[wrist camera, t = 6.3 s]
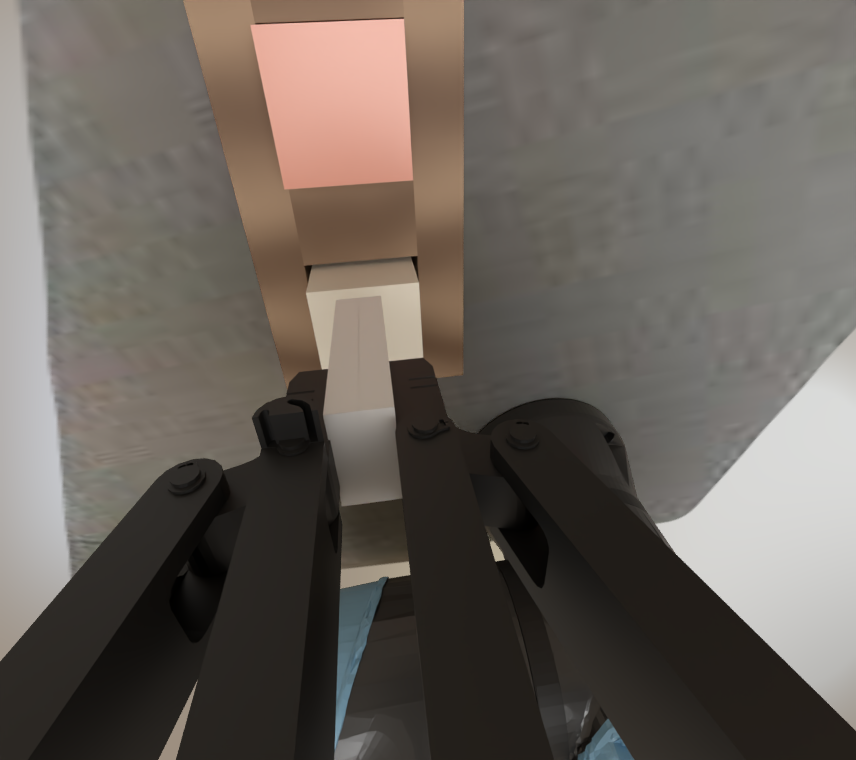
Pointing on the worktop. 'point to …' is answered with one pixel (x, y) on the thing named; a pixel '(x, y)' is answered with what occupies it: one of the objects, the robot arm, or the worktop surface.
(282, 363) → the mount
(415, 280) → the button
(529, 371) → the worktop surface
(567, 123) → the worktop surface
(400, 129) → the middle button
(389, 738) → the robot arm
